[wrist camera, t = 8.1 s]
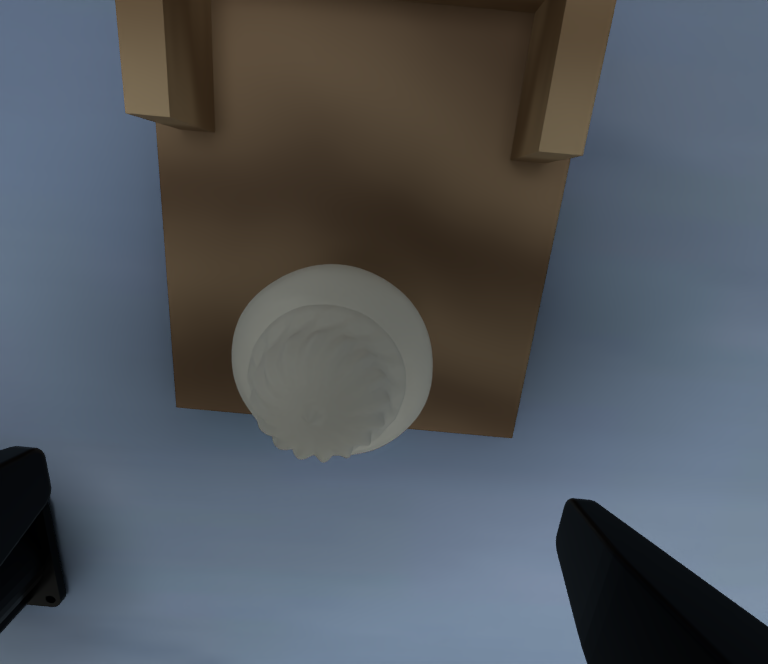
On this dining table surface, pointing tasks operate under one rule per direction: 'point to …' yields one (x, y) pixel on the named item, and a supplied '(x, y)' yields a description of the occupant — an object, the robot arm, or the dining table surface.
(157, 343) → the dining table surface
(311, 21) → the channel bracket
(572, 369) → the dining table surface
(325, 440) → the muffin
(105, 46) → the dining table surface
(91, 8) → the dining table surface
